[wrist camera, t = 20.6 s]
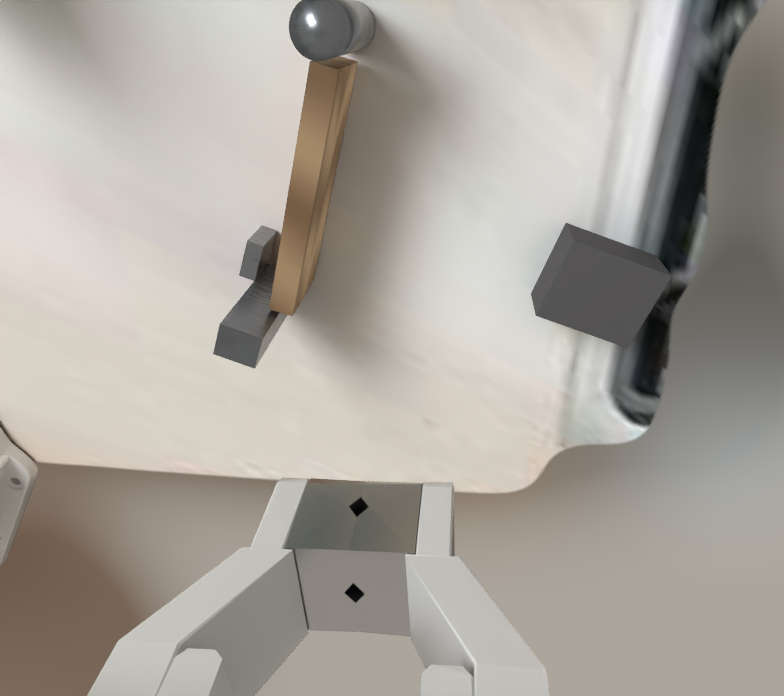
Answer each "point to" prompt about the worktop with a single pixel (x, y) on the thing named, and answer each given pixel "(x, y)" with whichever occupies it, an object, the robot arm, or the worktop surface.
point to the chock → (598, 285)
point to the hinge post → (330, 28)
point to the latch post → (252, 306)
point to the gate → (312, 179)
